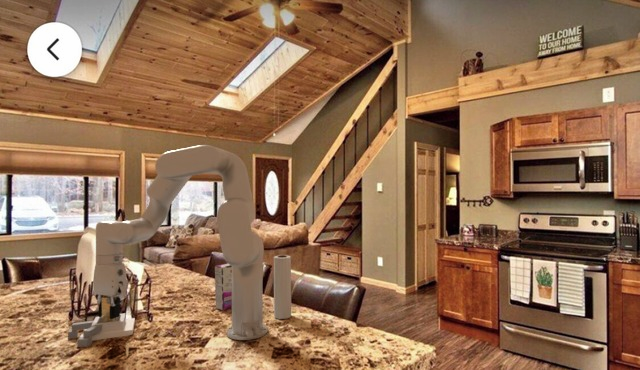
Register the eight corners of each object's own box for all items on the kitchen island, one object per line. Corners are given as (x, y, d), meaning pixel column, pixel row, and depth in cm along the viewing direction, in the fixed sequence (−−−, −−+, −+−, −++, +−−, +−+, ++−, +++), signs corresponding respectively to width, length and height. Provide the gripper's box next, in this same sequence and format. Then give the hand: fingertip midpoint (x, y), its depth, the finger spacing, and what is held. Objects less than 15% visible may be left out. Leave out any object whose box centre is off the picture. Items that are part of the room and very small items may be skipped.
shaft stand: (131, 340, 110) (131, 326, 110) (60, 351, 103) (60, 336, 103) (134, 322, 125) (134, 310, 125) (73, 330, 118) (73, 318, 118)
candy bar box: (237, 301, 148) (237, 260, 149) (245, 303, 145) (245, 262, 146) (214, 308, 139) (214, 265, 140) (222, 311, 136) (222, 267, 137)
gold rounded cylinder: (117, 323, 116) (117, 297, 116) (98, 325, 114) (98, 299, 114) (119, 317, 120) (119, 293, 121) (100, 320, 118) (101, 295, 119)
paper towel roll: (288, 320, 126) (288, 257, 126) (271, 319, 127) (271, 257, 128) (294, 313, 133) (293, 254, 133) (278, 312, 134) (277, 253, 135)
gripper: (138, 258, 118) (138, 316, 118) (101, 256, 124) (101, 310, 124) (118, 263, 111) (118, 323, 111) (79, 259, 117) (79, 317, 117)
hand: (109, 316), depth 117 cm, fingers closed on gold rounded cylinder, 4 cm apart
